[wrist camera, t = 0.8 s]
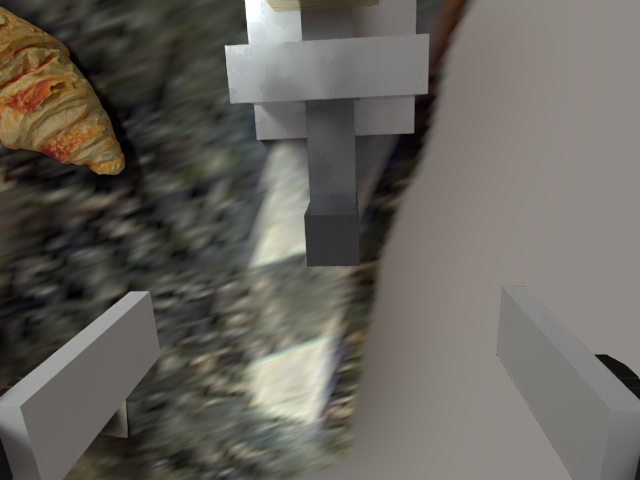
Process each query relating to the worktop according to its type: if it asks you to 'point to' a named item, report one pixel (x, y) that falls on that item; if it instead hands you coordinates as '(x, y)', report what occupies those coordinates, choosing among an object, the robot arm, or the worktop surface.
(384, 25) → the frame
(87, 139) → the croissant
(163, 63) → the worktop surface
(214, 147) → the worktop surface
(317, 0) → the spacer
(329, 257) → the bar
